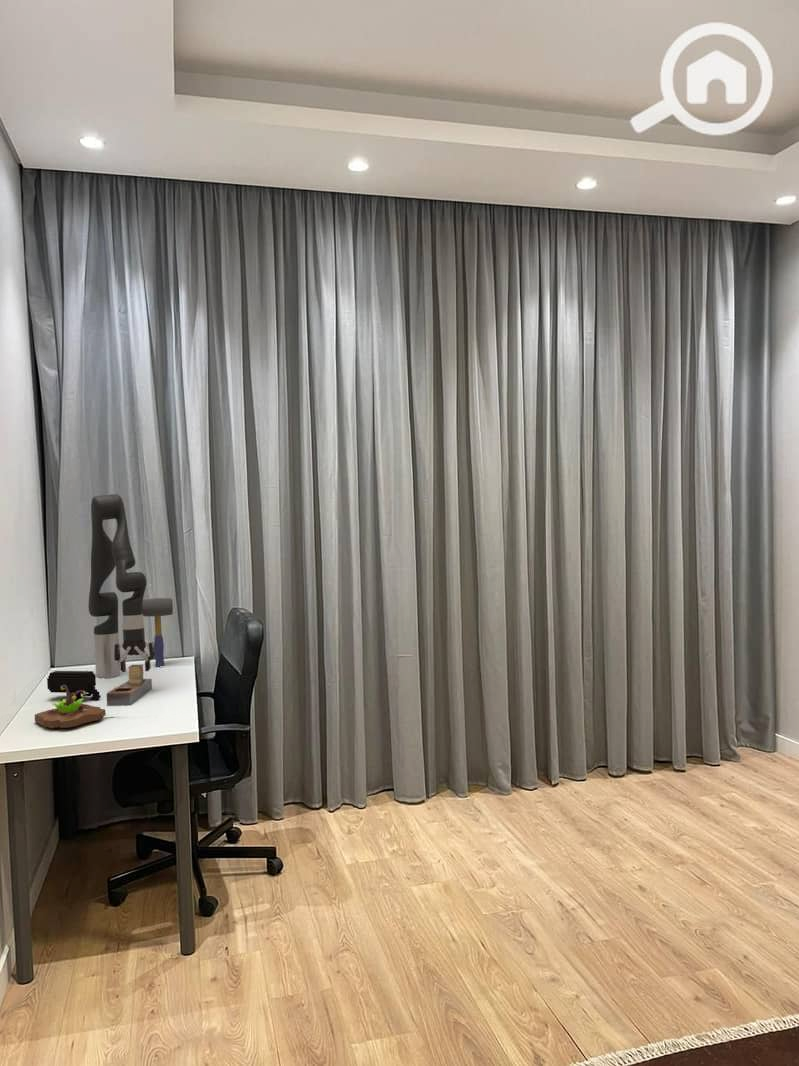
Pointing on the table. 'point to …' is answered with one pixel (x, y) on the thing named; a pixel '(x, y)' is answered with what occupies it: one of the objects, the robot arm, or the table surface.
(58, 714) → the plant
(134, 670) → the brown upright block
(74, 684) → the security camera
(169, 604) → the rubber mallet
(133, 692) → the rail
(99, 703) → the table surface
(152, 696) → the table surface
